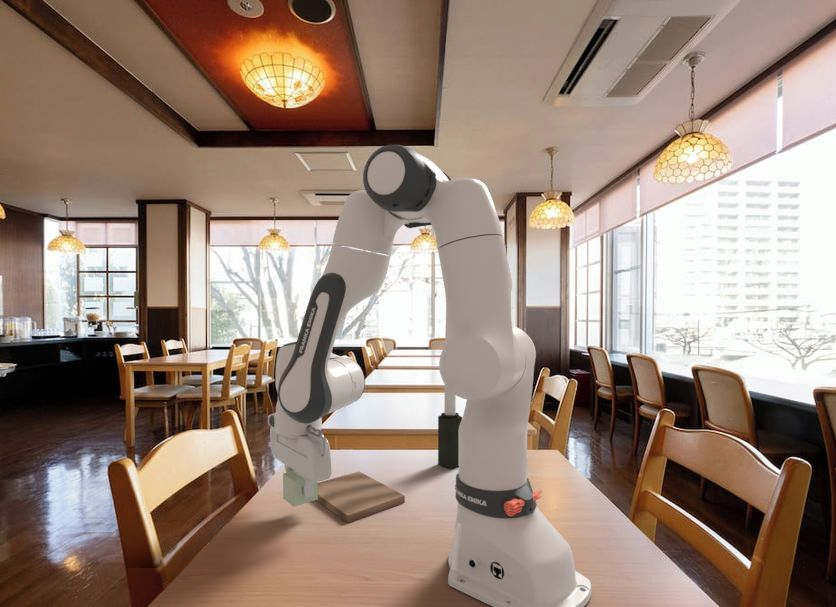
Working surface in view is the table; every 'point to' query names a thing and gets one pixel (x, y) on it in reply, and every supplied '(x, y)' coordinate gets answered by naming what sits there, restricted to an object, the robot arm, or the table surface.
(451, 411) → the black and grey rod
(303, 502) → the cube
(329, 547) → the table surface
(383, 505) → the serving board
